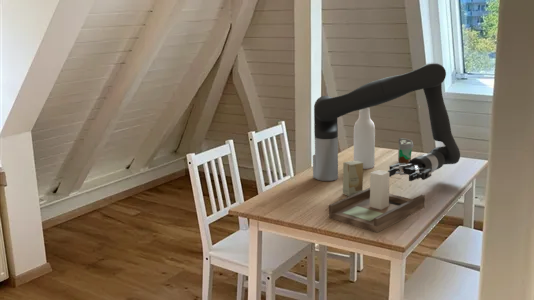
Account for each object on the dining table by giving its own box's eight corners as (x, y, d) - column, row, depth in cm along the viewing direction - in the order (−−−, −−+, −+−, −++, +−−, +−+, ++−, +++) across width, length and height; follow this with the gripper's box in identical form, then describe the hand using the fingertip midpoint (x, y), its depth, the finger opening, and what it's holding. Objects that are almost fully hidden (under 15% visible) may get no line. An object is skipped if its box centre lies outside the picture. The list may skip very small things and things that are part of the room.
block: (369, 206, 191) (370, 172, 187) (377, 203, 194) (378, 169, 191) (381, 209, 187) (381, 175, 184) (388, 206, 190) (389, 172, 187)
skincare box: (349, 197, 206) (349, 165, 203) (342, 193, 210) (342, 162, 207) (363, 193, 209) (363, 162, 206) (356, 190, 213) (356, 159, 210)
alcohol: (350, 167, 242) (350, 98, 234) (358, 162, 249) (358, 95, 241) (369, 170, 237) (370, 99, 229) (377, 164, 244) (378, 96, 237)
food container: (413, 168, 238) (414, 145, 235) (398, 167, 239) (399, 144, 237) (412, 160, 250) (413, 138, 247) (398, 159, 251) (398, 137, 248)
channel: (329, 217, 188) (329, 205, 186) (377, 195, 206) (378, 184, 205) (377, 232, 174) (377, 219, 173) (424, 207, 193) (424, 195, 192)
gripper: (406, 152, 211) (381, 162, 200) (441, 158, 201) (417, 169, 190) (406, 171, 213) (381, 182, 202) (440, 178, 203) (416, 190, 192)
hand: (399, 176), depth 196 cm, fingers open, 8 cm apart
